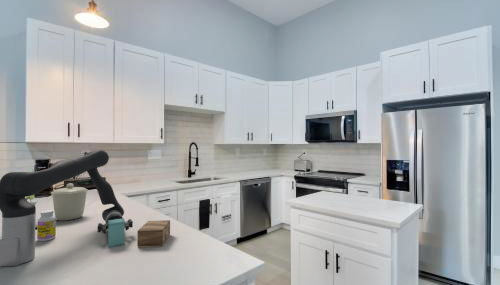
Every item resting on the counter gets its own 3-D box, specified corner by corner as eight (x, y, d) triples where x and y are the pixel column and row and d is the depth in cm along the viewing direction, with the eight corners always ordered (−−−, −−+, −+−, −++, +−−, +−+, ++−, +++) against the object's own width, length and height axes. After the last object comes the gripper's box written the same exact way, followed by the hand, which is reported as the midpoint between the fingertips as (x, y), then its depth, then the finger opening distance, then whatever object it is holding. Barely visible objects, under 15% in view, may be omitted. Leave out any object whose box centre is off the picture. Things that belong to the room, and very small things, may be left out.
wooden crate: (162, 246, 105) (162, 229, 106) (137, 247, 105) (137, 230, 105) (170, 234, 120) (170, 220, 120) (148, 235, 119) (148, 220, 119)
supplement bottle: (33, 242, 110) (34, 213, 111) (41, 237, 117) (42, 210, 117) (51, 240, 112) (51, 212, 112) (58, 235, 119) (58, 209, 119)
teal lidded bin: (124, 244, 108) (124, 221, 108) (108, 247, 104) (108, 223, 105) (123, 240, 113) (123, 218, 113) (107, 242, 110) (108, 220, 110)
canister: (42, 221, 142) (42, 185, 142) (71, 213, 159) (72, 180, 160) (67, 223, 137) (67, 186, 138) (94, 215, 155) (95, 181, 155)
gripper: (97, 215, 119) (97, 223, 105) (130, 211, 127) (133, 218, 113) (97, 230, 119) (97, 241, 105) (130, 225, 126) (133, 235, 113)
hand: (116, 229), depth 109 cm, fingers open, 8 cm apart
